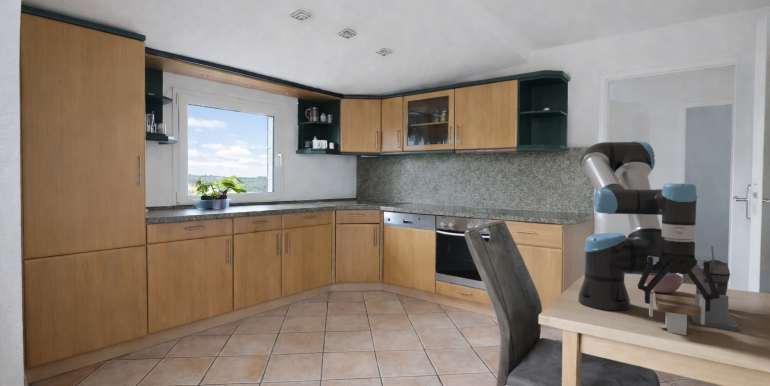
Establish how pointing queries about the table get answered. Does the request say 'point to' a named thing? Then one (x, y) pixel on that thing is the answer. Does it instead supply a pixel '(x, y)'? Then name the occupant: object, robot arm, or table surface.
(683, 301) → the board
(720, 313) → the cradle
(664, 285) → the mortar and pestle
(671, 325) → the grey rectangular block
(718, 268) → the beverage cup
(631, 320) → the table surface
